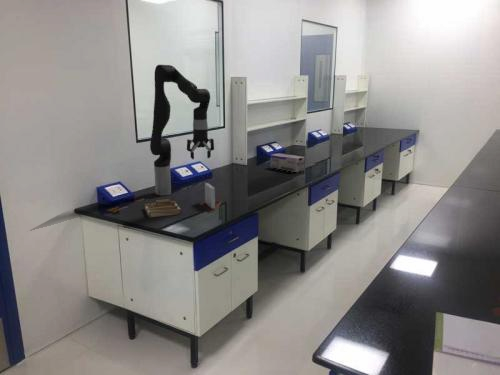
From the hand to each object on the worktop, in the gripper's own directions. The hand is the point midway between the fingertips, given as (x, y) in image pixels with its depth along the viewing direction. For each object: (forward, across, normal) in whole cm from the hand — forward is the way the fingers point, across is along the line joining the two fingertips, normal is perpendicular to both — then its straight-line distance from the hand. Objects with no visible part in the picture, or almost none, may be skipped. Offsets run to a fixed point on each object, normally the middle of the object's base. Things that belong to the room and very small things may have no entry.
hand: (200, 158), depth 226 cm
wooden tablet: (+27, -4, +3) cm, 28 cm away
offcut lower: (+25, +22, +3) cm, 34 cm away
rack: (+26, +22, +7) cm, 35 cm away
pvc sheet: (+26, -4, +3) cm, 26 cm away
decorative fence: (+28, +37, -11) cm, 47 cm away
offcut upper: (+23, +21, +3) cm, 31 cm away
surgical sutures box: (+27, -86, -69) cm, 114 cm away
